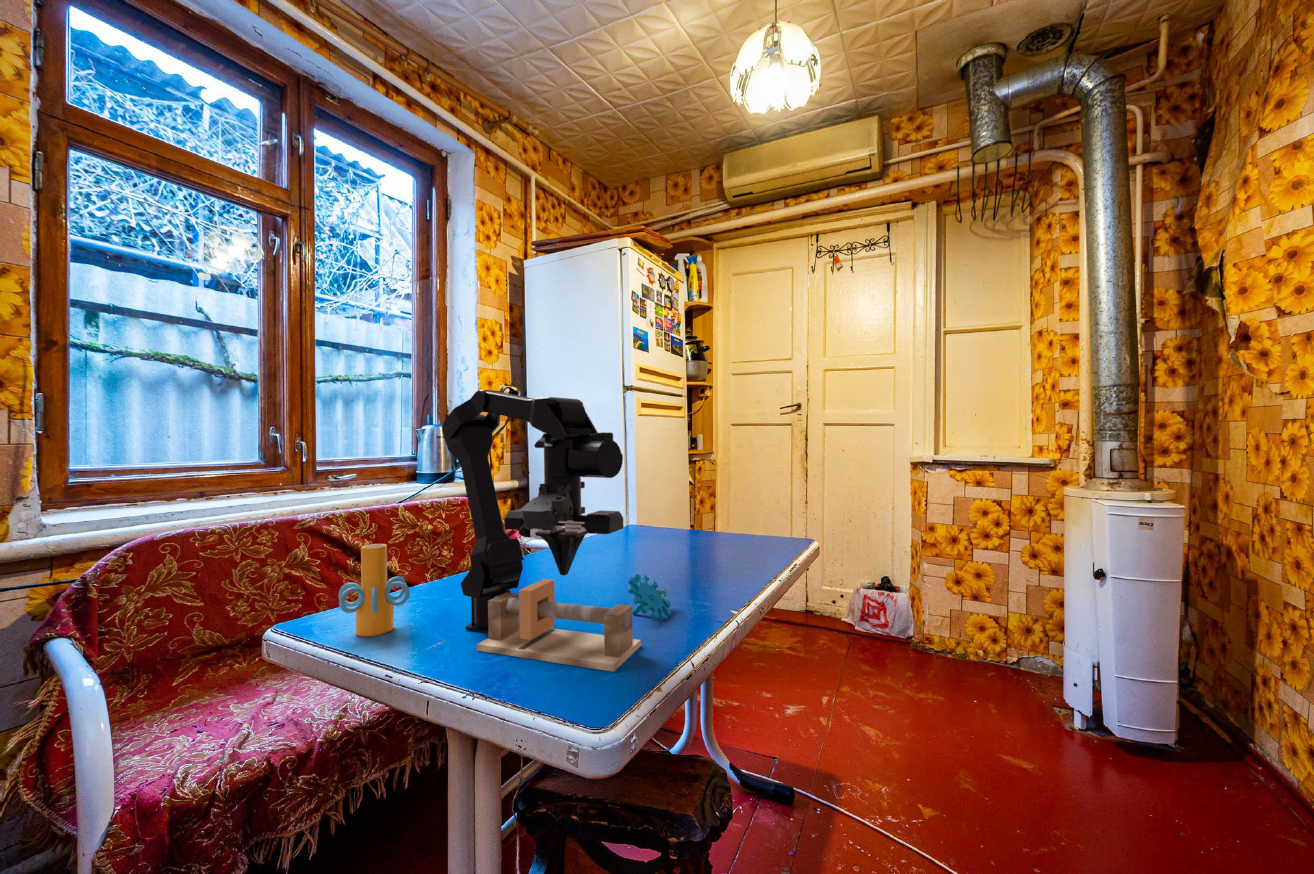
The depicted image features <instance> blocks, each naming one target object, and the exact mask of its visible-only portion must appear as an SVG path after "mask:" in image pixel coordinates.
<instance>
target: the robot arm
mask: <svg viewBox="0 0 1314 874" xmlns="http://www.w3.org/2000/svg"><path fill="white" fill-rule="evenodd" d="M482 413H487V414H485V415H484V414H482ZM587 413H588V412H587V411H586V409H585V406H584V402H582V401H581V400H580V399H577V398H570V397H569V398H568V397H567V398H566V397H555V396H554V397H553V396H552V397H551V396H544V397H534V398H532V397H528V396H521V395H516V394H511V393H507V392H502V391H501V390H493V389H479V390H477V391H475V392H474V394H473V395H472V396H471V397H470V398H469V399H468V400H466V401H464V402H463V403H461V404H459V405H458V406H456V407H454V408H453V409H452V410H451V412H450V413H449V414H448V416H447V417H446V418H445V419H444V421H443V423H442V426H441V432H442V433H441V434H442V436H443V438H444V442H445V445H446V448H447V450H448V451H449V453H450V454H451V455H452V456H453V457H454V459H456V461H457V462H458V463H459V465H460V469H461V473H462V479H463V483H464V487H465V492H466V497H467V501H468V505H469V510H470V515H471V519H472V526H473V530H474V534H475V535H474V536H475V541H474V545H473V548H472V550H471V554H470V556H469V557H470V566H471V567H470V569H469V571H468V572H467V574H466V575H465V576H464V578H463V579H462V581H461V583H460V587H461V590H462V595H463V596H466V597H469V598H470V601H471V603H470V606H471V607H470V608H471V609H470V610H471V612H470V613H471V614H470V615H471V621H470V622H471V623H469V624H467V625H465V630H469V631H475V632H482V633H488V601H489V600H491V599H493V598H495V597H496V596H500V595H502V594H504V593H507V592H508V593H512V592H511V590H513V589H518V587H519V583H520V580H521V575H522V572H523V570H524V564H523V561H524V560H525V559H524V556H523V555H522V552H521V545H520V541H519V539H518V538H515V537H513V538H511V537H510V536H509V535H508V534H507V533H506V531H505V530H514V531H515V530H516V531H520V530H522V529H523V528H524V527H525V530H529V531H530V530H534V529H535V530H537V531H535V532H534V535H536V537H540V538H541V539H543V541H545V542H546V544H547V546H548V547H549V549H550V552H551V553H552V557H553V559H554V562H555V564H556V567H557V570H558V573H559V574H560V576H567V575H568V574H569V572H570V570H571V567H572V565H573V562H574V559H575V558H576V555H577V552H578V550H579V547H580V545H581V544H582V542H583V541H584V538H585V536H586V535H589V534H591V535H592V534H593V535H595V534H596V535H610V534H613V533H616V532H617V531H620V530H622V529H624V517H623V515H622V513H621V512H620V511H619V510H597V511H594V512H590V513H586V507H585V506H582V489H585V487H586V486H585V485H586V484H585V483H586V482H585V481H582V478H601V479H603V478H604V479H613V478H614V477H616V476H618V474H619V473H620V471H621V470H622V466H623V458H624V457H623V456H624V455H623V453H622V450H621V448H620V446H619V444H618V443H617V442H616V441H615V440H614V433H613V432H604V431H603V432H598V431H597V428H596V427H595V425H594V424H593V421H592V420H591V419H590V417H589V415H588V414H587ZM501 416H504V417H509V418H512V419H516V420H517V419H518V420H521V421H526V422H527V423H529V424H530V425H531V427H532V428H534V429H536V430H538V431H540V432H542V433H543V434H542V436H541V437H540V438H539V439H538V440H537V441H536V442H535V443H534V444H533V445H534V448H535V449H543V475H544V477H543V479H544V483H540V484H539V487H538V495H537V496H536V497H534V498H532V499H531V500H529V502H527V503H526V504H525V505H524V506H522V507H521V508H518V509H514V510H513V509H512V510H510V511H508V512H507V514H506V515H505V517H504V518H502V515H501V511H500V506H499V501H498V496H497V493H496V488H495V484H494V479H493V474H492V470H491V465H490V460H489V454H490V452H491V449H492V447H493V443H494V438H493V437H494V436H493V434H494V432H495V431H496V430H497V429H498V428H499V427H500V425H501V423H500V422H501ZM502 519H504V521H503V520H502ZM503 522H504V524H503Z"/></svg>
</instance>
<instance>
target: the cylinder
mask: <svg viewBox="0 0 1314 874" xmlns="http://www.w3.org/2000/svg"><path fill="white" fill-rule="evenodd" d="M387 545H388V544H386V543H373V544H372V543H371V544H366V545H362V546H361V547H360V560H361V561H360V565H361V567H360V568H361V569H360V570H361V572H360V573H361V574H360V577H361V585H360V584H359V583H356V582H346V583H345V584H343V585H342V586H341V587H340V588H339V591H338V605H339V608H340V610H341V611H342V612H344V613H346V614H352V613H355V614H354V615H355V618H354V620H355V624H354V625H355V627H354V628H355V630H354V631H355V634H356V635H357V636H358V637H375V636H380V635H383V634H384V635H385V634H386V633H388V632H391V631H392V630H394V628H395V623H394V621H395V620H394V619H395V615H394V614H395V612H394V610H395V609H394V606H403V605H404V604H406V603H407V601H408V600H409V599H410V597H411V592H410V588H409V586H408V585H407V582H406V580H405V578H404V577H402V576H400V575H398V576H394V577H391V578H389V579H388V549H387V547H388V546H387ZM395 587H401V590H400V591H399V593H398V594H396V595H391V590H392V589H393V588H395ZM351 593H357V594H358V597H357V599H356V600H355V601H351V602H350V601H348V600H347V599H346V597H347V596H348V595H349V594H351ZM402 597H403V598H402ZM401 598H402V599H401ZM400 599H401V600H400Z"/></svg>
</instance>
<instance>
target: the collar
mask: <svg viewBox="0 0 1314 874" xmlns="http://www.w3.org/2000/svg"><path fill="white" fill-rule="evenodd" d="M555 596H556V594H555V579H549V578H543V579H541V580H539V581H536V582H534V583H532V584H530V585H528V586H527V585H526V586H525V587H523V588H520V589H519V598H520V614H519V624H520V639H527V640H532V639H534V638H535V637H537V636H538V635H540V634H542V633H543V632H545V631H546V630H548V629H550V628H553V627H554V626H555V625H556V618H549V617H541V616H540V617H538V610H537V602H538V601H540V600H542V601H548V602H556V601H555V598H556V597H555Z"/></svg>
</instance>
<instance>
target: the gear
mask: <svg viewBox="0 0 1314 874" xmlns="http://www.w3.org/2000/svg"><path fill="white" fill-rule="evenodd" d="M649 581H650V577H648V576H647V575H645V574H644V575H643V576H641V575H640V574H638V573H636V574H634V575H633V576H632V577H631V578H630V579H628V581H627V584H628V585H629V586H628V588H627V592H628V593H629V594H632V595H634V596H633V597H632V598H631V600H632V603H633V604H634V605H636V606H635V607H634V608H632V616H636V615H637V614H639V612H641V613H642V614H643V615H646V614H647V613H648V612H649V611H651V612H652V613H651V614H650V616H649V617H650V619H652V620H654V621H657V619H659V620H660V621H661V622H664V621H666V620H667V619H668V617H669V616H670V615H671V614H672V611H671V609H670V607H671V601H670V600H668V599H665V598H666V597H667V593H668V589H667V588H665V587H664V588H662V590H658V589H657V588H659V584H658V583H657V581H655V580H653V581H652V582H651V583H650V584H649V583H648V582H649Z"/></svg>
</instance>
